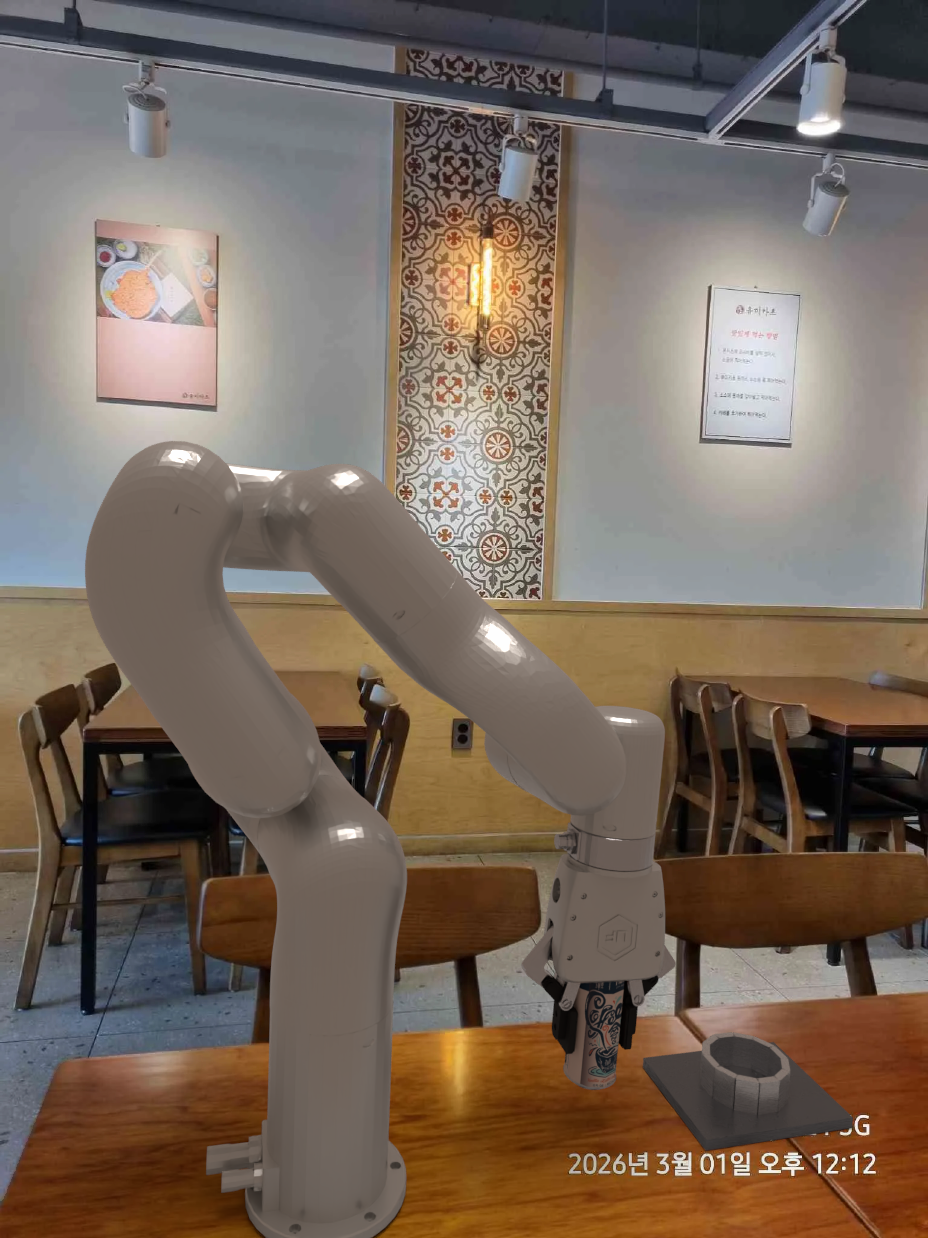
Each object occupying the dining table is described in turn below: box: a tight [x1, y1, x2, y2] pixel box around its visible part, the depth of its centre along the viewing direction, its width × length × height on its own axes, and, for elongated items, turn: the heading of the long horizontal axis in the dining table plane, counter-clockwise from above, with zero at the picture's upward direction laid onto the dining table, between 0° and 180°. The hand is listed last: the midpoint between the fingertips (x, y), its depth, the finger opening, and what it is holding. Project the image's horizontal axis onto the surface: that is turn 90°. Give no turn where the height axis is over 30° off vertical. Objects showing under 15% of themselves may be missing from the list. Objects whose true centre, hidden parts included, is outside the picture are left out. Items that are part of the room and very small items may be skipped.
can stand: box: [642, 1031, 854, 1152], centre depth 80 cm, size 15×12×4 cm
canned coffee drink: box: [563, 981, 624, 1091], centre depth 76 cm, size 5×5×12 cm
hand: (592, 1041), depth 76 cm, fingers closed on canned coffee drink, 4 cm apart
